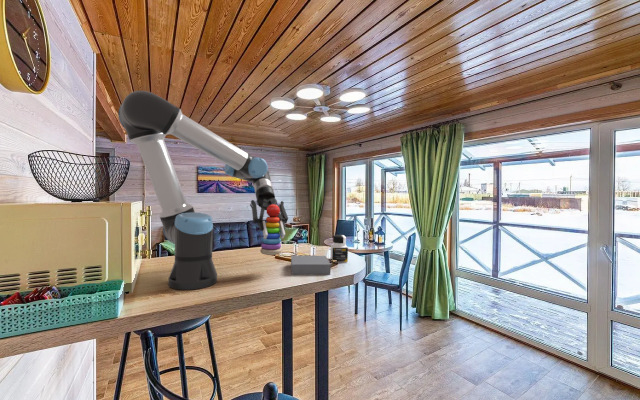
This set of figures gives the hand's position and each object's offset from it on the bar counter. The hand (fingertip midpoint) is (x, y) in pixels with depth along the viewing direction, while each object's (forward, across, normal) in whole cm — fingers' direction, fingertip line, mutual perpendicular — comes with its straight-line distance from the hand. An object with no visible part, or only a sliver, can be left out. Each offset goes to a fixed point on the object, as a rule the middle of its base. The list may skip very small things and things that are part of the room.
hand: (274, 236), depth 108 cm
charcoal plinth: (+7, -17, -14) cm, 23 cm away
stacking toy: (+2, 0, -8) cm, 8 cm away
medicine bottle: (+1, -36, -20) cm, 41 cm away
